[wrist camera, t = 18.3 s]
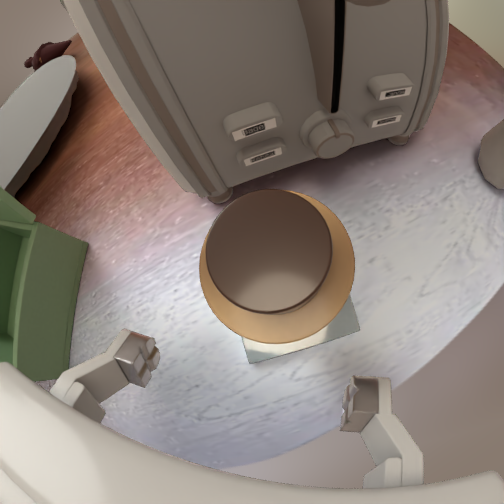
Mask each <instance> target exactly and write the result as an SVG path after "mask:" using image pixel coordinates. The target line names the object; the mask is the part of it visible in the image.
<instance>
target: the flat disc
mask: <svg viewBox="0 0 504 504" xmlns="http://www.w3.org/2000/svg"><path fill="white" fill-rule="evenodd" d="M78 79H79V78H78V74H77V72H76V61H75V58H74V57H73V56H70V55H65V56H60V57H57V58H55V59H53V60H51V61H49V62H48V63H46V64H44V65H43V66H41V67H40V68H39V69H37V70H36V71H35V72H34V73H32V74H31V75H30V76H29V77H28V78H27V79H26V80H25V81H24V82H23V83H22V84H21V85H20V86H19V87H18V88H17V89H16V90H15V91H14V92H13V93H12V94H11V96H10V97H9V98H8V99H7V101H6V102H5V103H4V105H3V106H2V107H1V109H0V187H2V188H3V189H4V190H5V191H6V192H7V193H9V194H10V195H11V196H12V197H13V198H14V197H15V194H16V192H17V191H18V189H19V188H21V187H22V185H23V184H24V183H25V182H26V181H27V179H28V178H29V175H30V173H31V172H33V171H34V169H35V168H36V167H37V166H38V165H39V164H40V163H41V161H42V160H43V158H44V157H45V155H46V154H47V152H48V150H49V149H50V146H51V143H52V142H53V141H54V139H55V138H56V136H57V133H58V132H59V130H60V127H61V126H62V125H63V124H64V122H65V121H66V119H67V117H68V113H69V110H70V107H71V97H72V94H73V92H74V91H75V90H76V88H77V81H78Z"/></svg>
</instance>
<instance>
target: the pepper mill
mask: <svg viewBox="0 0 504 504" xmlns="http://www.w3.org/2000/svg"><path fill="white" fill-rule="evenodd" d="M199 273H200V282H201V287H202V290H203V293H204V296H205V298H206V301H207V303H208V305H209V306H210V308H211V310H212V311H213V313H214V314H215V315H216V316H217V318H218V319H219V320H220V321H221V322H222V323H223V324H224V325H225V326H227V327H228V328H229V329H230V330H232V331H233V332H235V333H236V334H238V335H240V336H242V337H244V338H247V339H250V340H253V341H256V342H260V343H266V344H285V343H291V342H296V341H299V340H302V339H305V338H307V337H310V336H311V335H313V334H315V333H317V332H319V331H320V330H321V329H323V328H324V327H325V326H327V325H328V324H329V323H330V322H331V321H332V320H333V319H334V318H335V317H336V316H337V314H338V313H339V312H340V311H341V309H342V308H343V306H344V304H345V302H346V301H347V299H348V296H349V294H350V291H351V288H352V284H353V281H354V273H355V258H354V251H353V247H352V243H351V240H350V238H349V235H348V233H347V231H346V229H345V227H344V226H343V224H342V223H341V221H340V220H339V219H338V217H337V216H336V215H335V214H334V213H333V212H332V211H331V210H330V209H329V208H328V207H326V206H325V205H324V204H322V203H321V202H319V201H317V200H316V199H314V198H312V197H310V196H307V195H304V194H302V193H298V192H294V191H287V190H279V189H263V190H257V191H253V192H249V193H247V194H244V195H242V196H240V197H238V198H237V199H235V200H234V201H232V202H231V203H229V204H228V205H227V206H226V207H225V208H224V209H223V210H222V211H221V212H220V214H219V215H218V216H217V218H216V219H215V221H214V223H213V225H212V227H211V228H210V230H209V232H208V234H207V236H206V238H205V241H204V244H203V246H202V250H201V255H200V264H199Z"/></svg>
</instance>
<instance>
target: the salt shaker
mask: <svg viewBox="0 0 504 504" xmlns="http://www.w3.org/2000/svg"><path fill="white" fill-rule="evenodd" d="M478 164H479V166H480V169H481V171H482V174H483V176H484V179H485V180H487V181H488V182H489V183H491V184H492V185H493V186H495V187H496V188H497V189H504V119H503V120H502V121H501V122H500V123H498V124H497V125H496V126H495V127H493V128H492V129H491V130H490V131H488V132H487V133H486V134H485V135H484V136H483V138H482V140H481V147H480V153H479V158H478Z"/></svg>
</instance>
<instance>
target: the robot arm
mask: <svg viewBox="0 0 504 504" xmlns="http://www.w3.org/2000/svg"><path fill="white" fill-rule="evenodd" d="M155 344H156V342H155V339H154V338H152V337H149V336H146V335H142V334H139V333H136V332H134V331H130V330H127V329H123V330H121V331H120V332H119V334H118V335H117V336H116V338H115V339H114V341H113V342H112V343H111V345H110V346H109V348H108V349H107V350H106V352H105V353H104V354H102V353H101V354H99V355H97V356H95V357H93V358H91V359H89V360H87V361H85V362H83V363H81V364H79V365H77V366H75V367H73V368H70V369H68V370H66V371H64V372H63V373H62V374H61V375H60V377H59V378H58V380H57V381H56V382H55V384H54V385H53V387H52V388H51V389H50V391H49V392H48V391H46V390H45V389H43V388H42V387H40V386H39V385H38V384H36V383H35V382H34V381H32V380H31V379H30V378H28V377H27V376H26V375H24V374H23V373H22V372H20V371H19V370H18V369H17V368H15V367H14V366H13V365H12V364H10V363H9V362H1V363H0V504H504V480H503V478H502V477H501V476H500V475H499V474H498V473H497V472H496V471H493V470H489V471H485V472H482V473H478V474H474V475H470V476H466V477H462V478H457V479H453V480H447V481H442V482H436V483H429V484H424V455H423V453H422V452H421V450H420V449H419V447H418V446H417V444H416V443H415V441H414V440H413V438H412V437H411V436H410V434H409V433H408V431H407V430H406V428H405V427H404V426H403V424H402V423H401V421H400V420H399V418H398V417H397V416H396V414H392V397H391V381H390V379H389V378H387V377H372V376H355V375H353V376H352V377H351V379H350V385H348V386H347V387H346V389H345V392H344V396H343V403H342V408H343V409H344V413H343V415H342V416H341V427H340V431H348V432H360V435H361V437H362V438H363V441H364V443H365V445H366V447H367V448H368V451H369V452H370V454H371V456H372V459H373V460H374V462H375V464H376V466H377V467H375V468H374V469H372V470H371V471H370V472H368V473H367V474H365V475H364V481H363V488H362V489H343V488H322V487H309V486H300V485H292V484H285V483H278V482H271V481H266V480H260V479H255V478H250V477H245V476H240V475H236V474H232V473H228V472H224V471H220V470H217V469H213V468H209V467H206V466H203V465H199V464H196V463H193V462H190V461H187V460H184V459H181V458H178V457H175V456H172V455H170V454H167V453H164V452H162V451H159V450H157V449H154V448H152V447H149V446H147V445H144V444H142V443H140V442H137V441H135V440H133V439H131V438H128V437H126V436H124V435H122V434H120V433H118V432H116V431H114V430H112V429H110V428H108V427H106V426H104V425H102V424H100V423H101V421H102V419H103V417H104V415H105V414H106V413H105V410H104V409H103V408H102V407H101V405H100V403H101V402H103V401H104V400H106V399H107V398H109V397H110V396H112V395H113V394H115V393H116V392H118V391H119V390H121V389H122V388H124V387H125V386H126V385H128V384H129V382H130V383H132V384H135V385H138V386H141V387H144V388H145V387H146V386H147V384H148V382H149V380H150V379H151V377H152V376H151V371H153V370H155V369H156V368H157V366H158V364H159V360H160V352H159V349H158V348H157V347H156V346H155Z"/></svg>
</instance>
